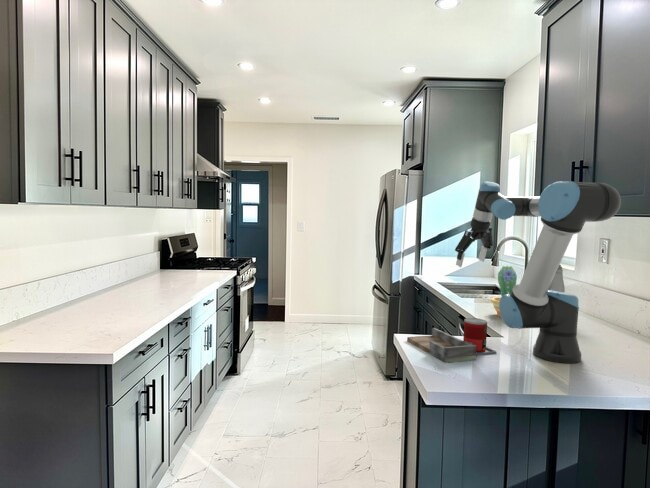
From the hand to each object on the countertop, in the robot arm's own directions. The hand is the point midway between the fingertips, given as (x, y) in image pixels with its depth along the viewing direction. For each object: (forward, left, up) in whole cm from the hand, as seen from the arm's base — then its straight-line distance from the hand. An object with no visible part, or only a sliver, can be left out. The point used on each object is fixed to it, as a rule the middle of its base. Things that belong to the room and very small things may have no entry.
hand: (470, 263), depth 190 cm
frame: (-28, +17, -29) cm, 44 cm away
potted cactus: (+16, -35, -29) cm, 48 cm away
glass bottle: (+2, -49, -29) cm, 57 cm away
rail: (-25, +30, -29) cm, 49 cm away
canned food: (-28, +17, -29) cm, 44 cm away
